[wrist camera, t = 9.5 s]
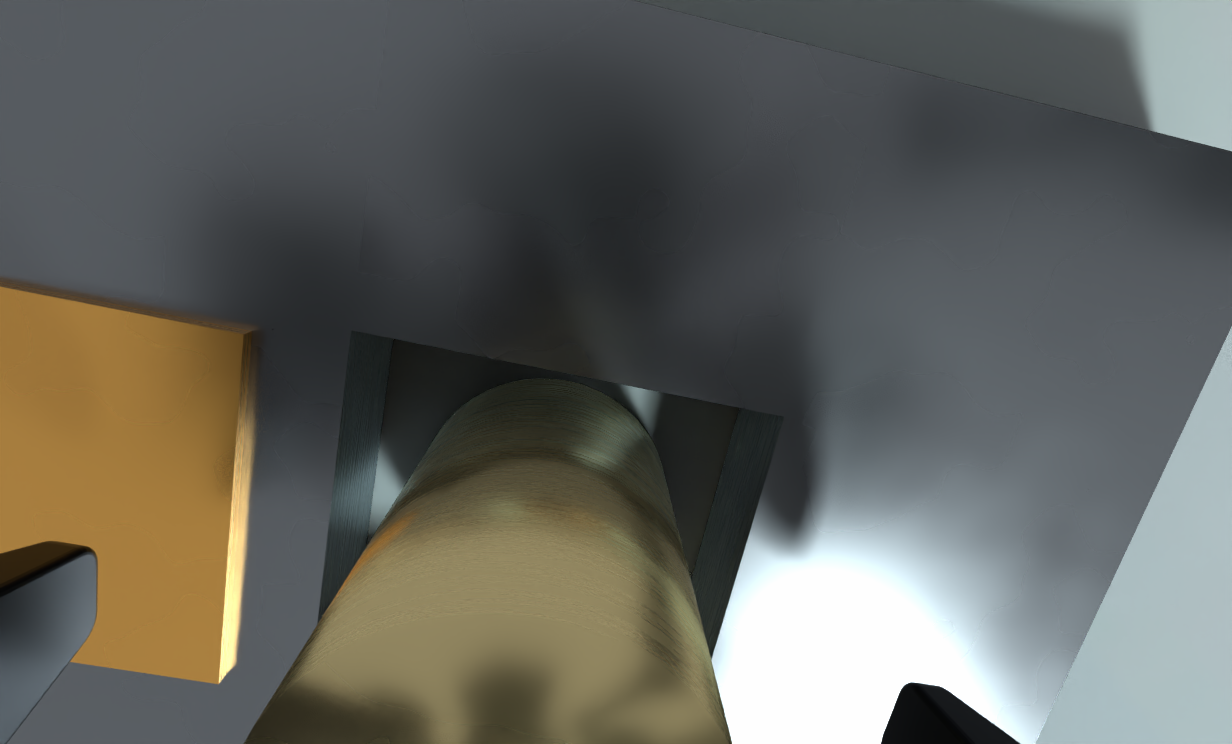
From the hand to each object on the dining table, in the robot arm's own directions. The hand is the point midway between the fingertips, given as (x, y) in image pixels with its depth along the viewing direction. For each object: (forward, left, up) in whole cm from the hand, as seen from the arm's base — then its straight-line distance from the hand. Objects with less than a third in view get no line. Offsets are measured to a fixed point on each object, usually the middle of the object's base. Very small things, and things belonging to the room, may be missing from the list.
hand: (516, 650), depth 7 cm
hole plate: (0, 0, -4) cm, 4 cm away
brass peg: (0, 0, -4) cm, 4 cm away
